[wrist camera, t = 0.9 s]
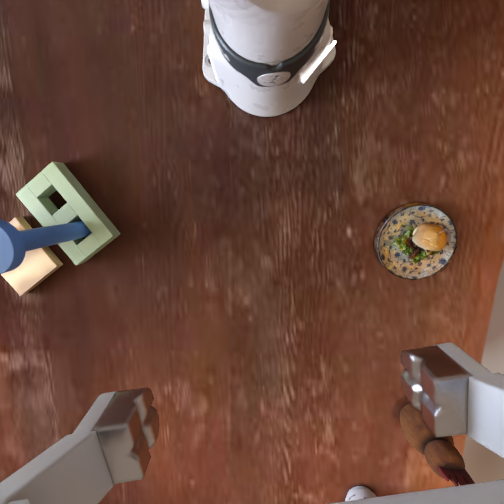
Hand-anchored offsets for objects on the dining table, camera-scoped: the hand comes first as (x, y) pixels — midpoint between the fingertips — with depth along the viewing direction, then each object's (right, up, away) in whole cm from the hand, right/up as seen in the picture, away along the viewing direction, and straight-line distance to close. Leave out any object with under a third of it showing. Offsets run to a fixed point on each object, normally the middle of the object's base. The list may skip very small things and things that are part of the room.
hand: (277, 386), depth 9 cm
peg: (-28, +8, +39) cm, 49 cm away
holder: (-30, +10, +38) cm, 50 cm away
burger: (+24, +6, +37) cm, 44 cm away
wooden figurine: (+28, -24, +43) cm, 56 cm away
